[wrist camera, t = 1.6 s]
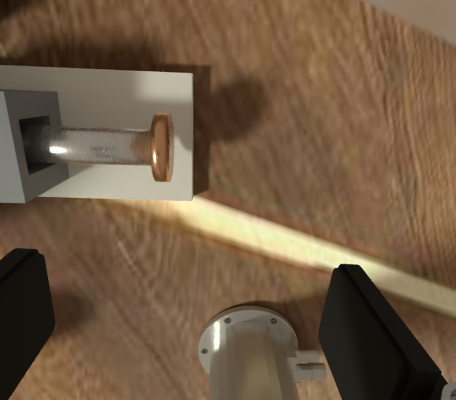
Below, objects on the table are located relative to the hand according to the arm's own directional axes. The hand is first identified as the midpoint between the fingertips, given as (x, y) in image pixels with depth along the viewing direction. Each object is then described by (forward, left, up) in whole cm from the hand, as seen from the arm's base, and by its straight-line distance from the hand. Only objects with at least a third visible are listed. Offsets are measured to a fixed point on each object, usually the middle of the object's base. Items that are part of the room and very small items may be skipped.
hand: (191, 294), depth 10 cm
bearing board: (+15, -2, -22) cm, 27 cm away
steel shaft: (+11, -2, -20) cm, 22 cm away
